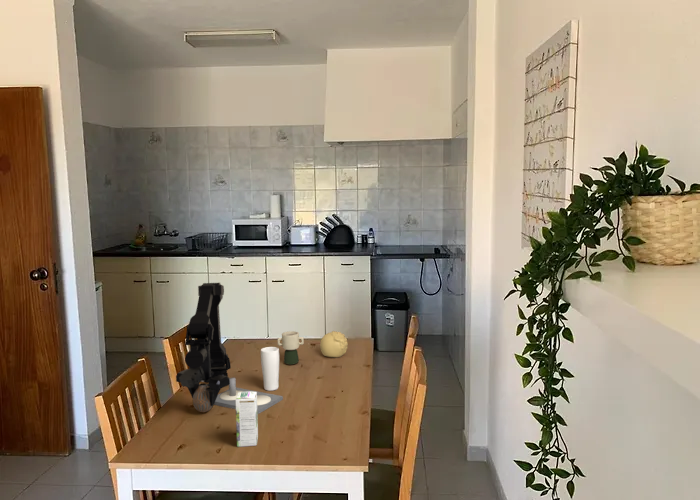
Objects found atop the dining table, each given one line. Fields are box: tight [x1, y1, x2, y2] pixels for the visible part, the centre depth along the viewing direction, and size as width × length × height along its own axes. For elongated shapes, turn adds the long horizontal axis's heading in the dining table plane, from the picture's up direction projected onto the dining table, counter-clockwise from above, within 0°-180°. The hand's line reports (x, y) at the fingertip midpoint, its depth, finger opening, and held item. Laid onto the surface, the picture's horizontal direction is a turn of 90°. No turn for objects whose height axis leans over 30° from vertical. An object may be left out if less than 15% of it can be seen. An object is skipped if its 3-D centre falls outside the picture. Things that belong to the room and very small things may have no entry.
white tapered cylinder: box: [260, 346, 280, 392], centre depth 211 cm, size 7×7×15 cm
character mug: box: [276, 330, 305, 365], centre depth 240 cm, size 11×7×13 cm, turn 95°
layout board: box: [213, 377, 284, 415], centre depth 200 cm, size 22×14×7 cm, turn 62°
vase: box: [192, 382, 214, 413], centre depth 190 cm, size 7×7×9 cm
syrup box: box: [235, 391, 259, 448], centre depth 167 cm, size 6×6×14 cm
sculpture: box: [319, 330, 349, 358], centre depth 250 cm, size 11×12×11 cm
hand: (203, 403), depth 190 cm, fingers closed on vase, 7 cm apart
